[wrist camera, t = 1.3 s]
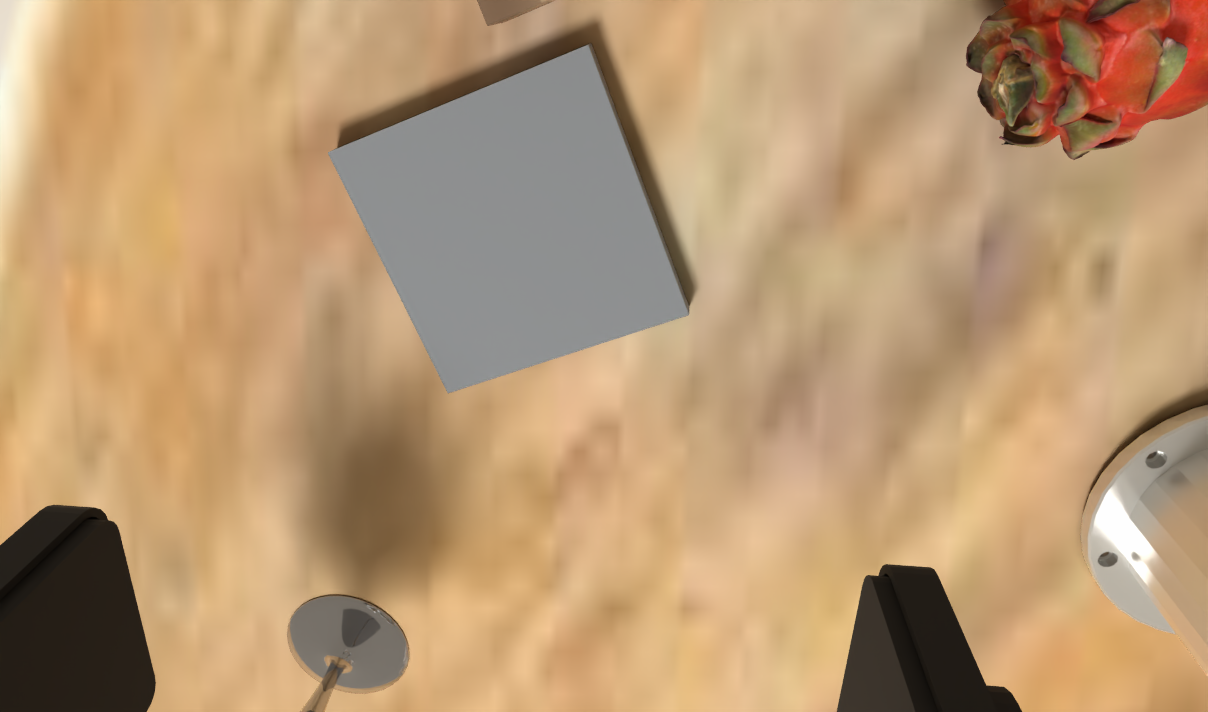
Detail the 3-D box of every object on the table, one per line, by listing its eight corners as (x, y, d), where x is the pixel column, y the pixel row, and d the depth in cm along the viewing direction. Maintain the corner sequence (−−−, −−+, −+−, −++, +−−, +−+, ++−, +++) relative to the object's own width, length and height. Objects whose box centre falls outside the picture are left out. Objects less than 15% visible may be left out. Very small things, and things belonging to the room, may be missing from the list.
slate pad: (591, 42, 35) (588, 44, 34) (689, 306, 39) (688, 315, 38) (336, 148, 37) (327, 152, 36) (453, 384, 41) (448, 393, 40)
